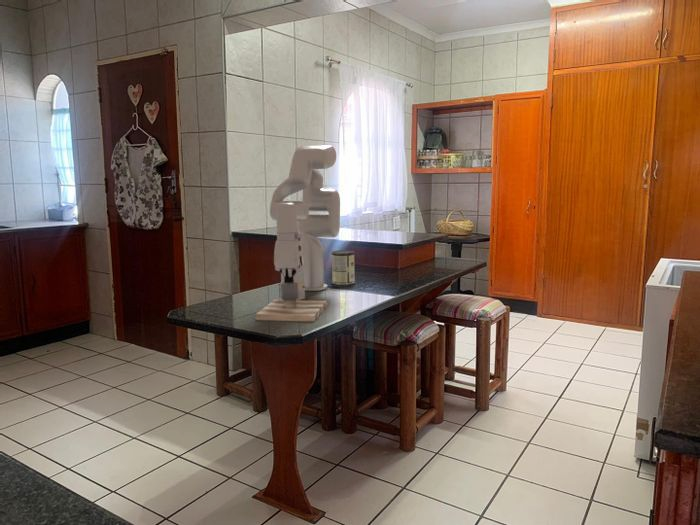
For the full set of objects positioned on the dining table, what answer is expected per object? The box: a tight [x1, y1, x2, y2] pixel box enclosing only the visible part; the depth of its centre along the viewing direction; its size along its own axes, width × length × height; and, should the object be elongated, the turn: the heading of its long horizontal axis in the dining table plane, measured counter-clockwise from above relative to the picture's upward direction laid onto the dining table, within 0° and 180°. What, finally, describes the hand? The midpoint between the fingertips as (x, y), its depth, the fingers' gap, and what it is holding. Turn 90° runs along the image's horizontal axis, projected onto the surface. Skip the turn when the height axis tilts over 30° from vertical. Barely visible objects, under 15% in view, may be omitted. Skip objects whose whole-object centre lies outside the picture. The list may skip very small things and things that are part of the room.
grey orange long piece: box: [280, 282, 301, 300], centre depth 194 cm, size 14×6×5 cm, turn 169°
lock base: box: [255, 299, 328, 323], centre depth 191 cm, size 22×20×5 cm
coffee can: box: [331, 249, 356, 286], centre depth 244 cm, size 10×10×14 cm
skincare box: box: [280, 264, 306, 300], centre depth 211 cm, size 8×6×15 cm
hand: (289, 286), depth 198 cm, fingers closed
